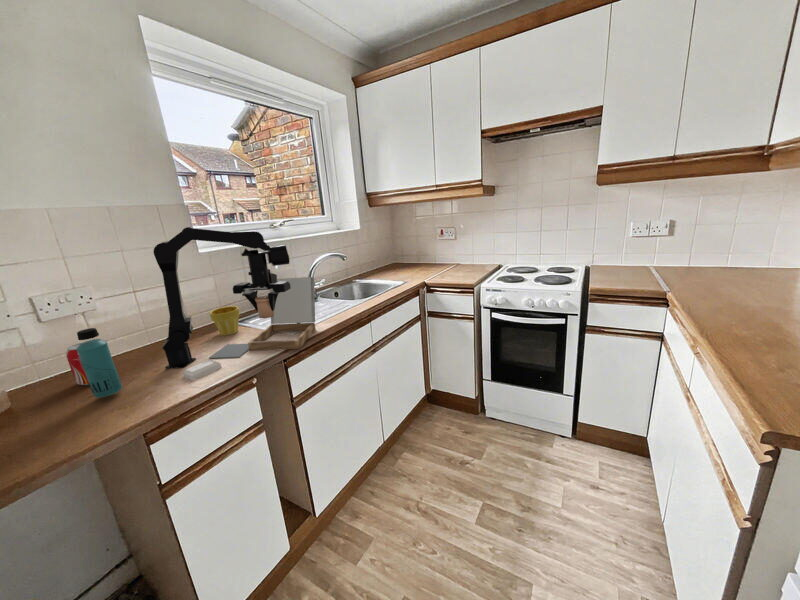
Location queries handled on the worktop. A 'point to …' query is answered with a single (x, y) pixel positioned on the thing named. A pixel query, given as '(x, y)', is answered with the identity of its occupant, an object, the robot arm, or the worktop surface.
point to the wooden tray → (260, 344)
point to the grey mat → (231, 351)
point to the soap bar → (201, 369)
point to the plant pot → (226, 319)
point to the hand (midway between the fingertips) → (265, 310)
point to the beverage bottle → (98, 364)
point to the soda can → (76, 365)
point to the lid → (295, 302)
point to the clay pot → (264, 307)
